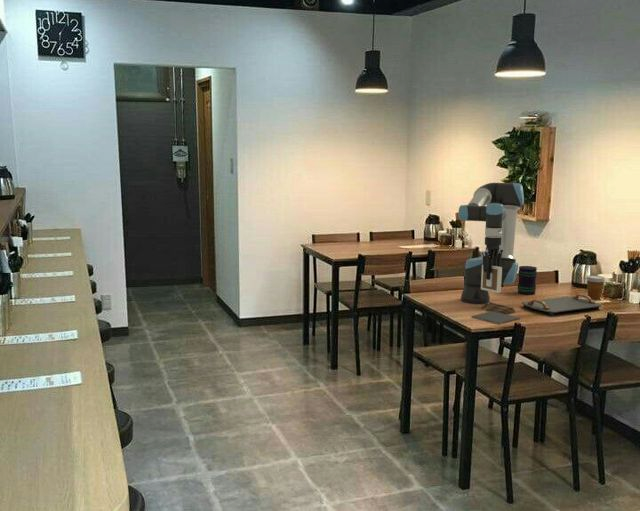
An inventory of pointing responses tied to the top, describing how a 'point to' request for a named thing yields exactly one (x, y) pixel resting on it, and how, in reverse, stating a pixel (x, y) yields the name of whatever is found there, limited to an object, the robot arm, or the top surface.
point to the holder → (498, 308)
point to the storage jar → (527, 280)
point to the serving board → (562, 304)
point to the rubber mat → (496, 317)
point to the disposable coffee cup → (595, 286)
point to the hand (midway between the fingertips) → (490, 285)
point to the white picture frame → (495, 280)
